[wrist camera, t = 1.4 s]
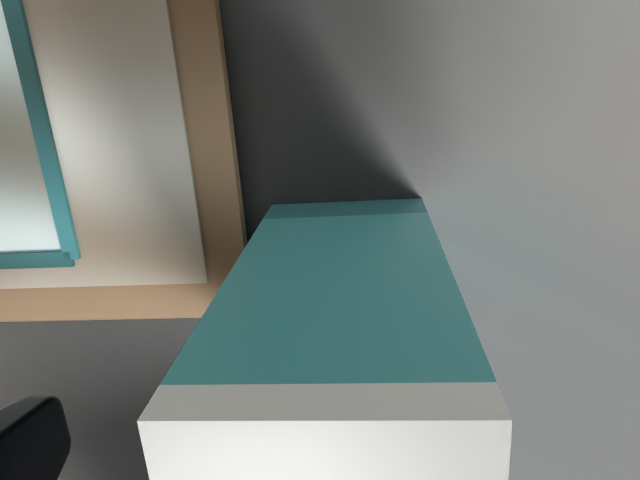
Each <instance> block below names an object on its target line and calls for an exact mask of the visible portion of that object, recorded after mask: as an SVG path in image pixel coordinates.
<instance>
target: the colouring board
mask: <svg viewBox="0 0 640 480" xmlns="http://www.w3.org/2000/svg"><path fill="white" fill-rule="evenodd" d="M246 245H247V235H246V226H245V218H244V209H243V201H242V192H241V183H240V175H239V166H238V158H237V149H236V141H235V132H234V124H233V115H232V107H231V98H230V90H229V81H228V73H227V64H226V56H225V47H224V38H223V30H222V21H221V13H220V4H219V0H0V322H20V321H68V320H115V319H163V318H201V317H202V316H203V314H204V313H205V311H206V309H207V308H208V306H209V304H210V303H211V301H212V300H213V298H214V296H215V295H216V293H217V292H218V290H219V288H220V287H221V285H222V284H223V282H224V280H225V279H226V277H227V276H228V274H229V272H230V271H231V269H232V268H233V266H234V264H235V263H236V261H237V260H238V258H239V256H240V255H241V253H242V251H243V250H244V248H245V247H246Z"/></svg>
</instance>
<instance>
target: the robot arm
mask: <svg viewBox="0 0 640 480" xmlns="http://www.w3.org/2000/svg"><path fill="white" fill-rule="evenodd" d="M70 446H71V438H70V434H69V430H68V426H67V422H66V419H65V415H64V411H63V407H62V404H61V401H60V400H59V399H58V398H57V397H55V396H31V397H28V398H25V399H23V400H21V401H19V402H17V403H15V404H13V405H11V406H9V407H7V408H5V409H3V410H1V411H0V480H57V479H58V477H59V474H60V472H61V470H62V468H63V466H64V463H65V461H66V459H67V457H68V454H69V451H70Z"/></svg>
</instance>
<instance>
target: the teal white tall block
mask: <svg viewBox="0 0 640 480" xmlns="http://www.w3.org/2000/svg"><path fill="white" fill-rule="evenodd" d="M137 424H138V429H139V433H140V438H141V442H142V447H143V452H144V456H145V461H146V465H147V470H148V475H149V479H150V480H508V477H509V462H510V447H511V432H512V418H511V416H510V414H509V411H508V409H507V406H506V404H505V401H504V399H503V396H502V394H501V392H500V389H499V387H498V384H497V382H496V379H495V377H494V374H493V372H492V369H491V367H490V365H489V362H488V360H487V357H486V355H485V352H484V350H483V347H482V345H481V342H480V340H479V338H478V335H477V333H476V330H475V328H474V325H473V323H472V320H471V318H470V316H469V313H468V311H467V308H466V306H465V303H464V301H463V298H462V296H461V293H460V291H459V289H458V286H457V284H456V281H455V279H454V276H453V274H452V271H451V269H450V267H449V264H448V262H447V259H446V257H445V254H444V252H443V249H442V247H441V244H440V242H439V240H438V237H437V235H436V232H435V230H434V227H433V225H432V222H431V220H430V217H429V215H428V213H427V210H426V208H425V205H424V203H423V200H422V198H416V199H392V200H369V201H345V202H322V203H298V204H274V205H271V207H270V208H269V210H268V211H267V213H266V215H265V216H264V218H263V219H262V221H261V223H260V224H259V226H258V227H257V229H256V231H255V232H254V234H253V235H252V237H251V239H250V240H249V242H248V243H247V245H246V247H245V248H244V250H243V251H242V253H241V255H240V256H239V258H238V260H237V261H236V263H235V264H234V266H233V268H232V269H231V271H230V272H229V274H228V276H227V277H226V279H225V280H224V282H223V284H222V285H221V287H220V288H219V290H218V292H217V293H216V295H215V296H214V298H213V300H212V301H211V303H210V304H209V306H208V308H207V309H206V311H205V313H204V314H203V316H202V317H201V319H200V321H199V322H198V324H197V325H196V327H195V329H194V330H193V332H192V333H191V335H190V337H189V338H188V340H187V341H186V343H185V345H184V346H183V348H182V349H181V351H180V353H179V354H178V356H177V358H176V359H175V361H174V362H173V364H172V366H171V367H170V369H169V370H168V372H167V374H166V375H165V377H164V378H163V380H162V382H161V383H160V385H159V386H158V388H157V390H156V391H155V393H154V394H153V396H152V398H151V399H150V401H149V402H148V404H147V406H146V407H145V409H144V411H143V412H142V414H141V415H140V417H139V419H138V420H137Z"/></svg>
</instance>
